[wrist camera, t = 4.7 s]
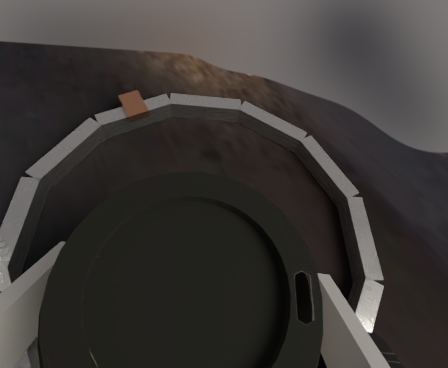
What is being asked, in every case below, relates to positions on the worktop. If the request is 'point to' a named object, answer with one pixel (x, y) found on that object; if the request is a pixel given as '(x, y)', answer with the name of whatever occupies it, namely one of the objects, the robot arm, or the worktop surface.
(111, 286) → the coffee cup
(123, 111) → the centring ring
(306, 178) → the worktop surface
